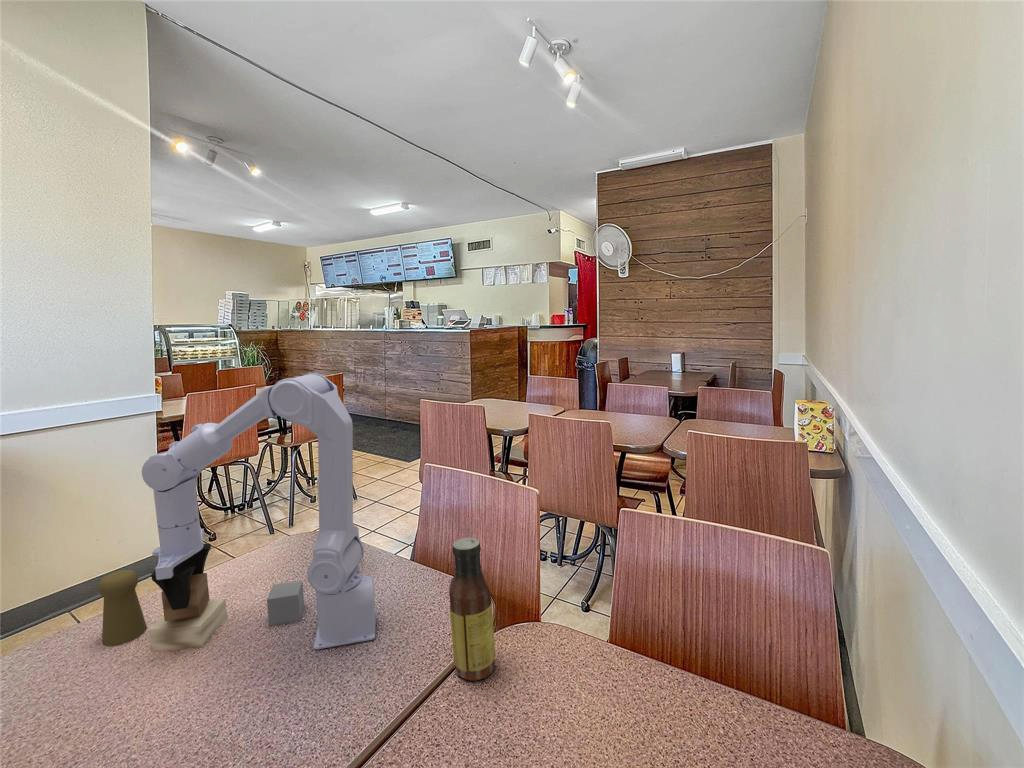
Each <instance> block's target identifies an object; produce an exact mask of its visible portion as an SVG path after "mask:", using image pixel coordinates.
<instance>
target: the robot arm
mask: <svg viewBox="0 0 1024 768" xmlns="http://www.w3.org/2000/svg"><path fill="white" fill-rule="evenodd" d="M278 416H279V417H280V418H282V419H284V420H287V421H289V422H292V423H294V424H297V425H299V426H301V427H304V428H306V429H307V430H308V431H310V432H311V433H312V434H314V435H315V436H316V437H317V456H318V458H317V461H318V462H317V464H318V465H317V466H318V470H317V471H318V472H317V473H318V475H317V476H318V477H319V499H318V534H317V536H316V540H315V543H314V545H313V549H312V560H311V562H310V564H309V566H308V567H307V573H306V576H307V581H308V583H309V585H310V586H311V588H312V589H313V590H315V597H316V611H317V623H318V626H317V630H316V634H315V639H314V643H313V650H316V651H317V650H322V649H326V648H333V647H338V646H339V647H340V646H345V645H350V644H355V643H362V642H367V641H372V640H374V639H375V638H376V621H377V620H378V608H377V607H376V598H375V597H376V596H375V595H376V594H375V581H374V579H375V578H374V576H369V575H368V576H367V575H361V571H360V567H359V564H360V562H361V561H362V559H363V557H364V555H365V547H364V544H363V542H362V540H361V538H360V533H359V531H360V530H359V527H358V526H356V525H355V524H354V498H353V497H354V494H353V493H354V479H353V478H354V477H353V476H354V471H353V470H354V465H353V463H354V457H353V456H354V455H353V454H354V451H353V450H354V448H353V447H354V446H353V445H354V443H353V442H354V440H353V437H354V436H353V433H354V432H353V430H354V429H353V427H354V425H353V419H352V417H351V415H350V414H349V411H348V410H347V408H346V406H345V405H344V403H343V401H342V399H341V397H340V396H339V392H338V386H337V385H336V384H334V383H333V382H332V381H331V380H330V379H328V378H327V377H326V376H324V375H323V374H321V373H318V372H317V373H316V372H309V373H306V374H304V375H300V376H296V377H292V378H291V377H290V378H289V377H288V378H283V379H280V380H278V381H277V382H276V383H275V384H274V385H272V386H268V387H267V388H264V389H263V390H261V391H260V392H258V393H257V394H255V395H254V396H253V397H251V398H250V399H249V400H248V401H246V402H245V403H244V404H243V405H241V406H240V407H239V408H238V409H236V410H235V411H234V412H232V413H230V414H229V415H228V416H227V417H225V418H224V419H223V420H221V422H219V423H216V422H215V423H214V422H206V423H204V424H203V423H198V424H196V425H194V426H193V427H191V428H190V432H191V433H189V434H188V435H187V436H185V437H184V438H182V439H181V440H179V441H177V440H176V441H174V442H171V443H170V444H168V448H169V449H168V450H167V451H165V452H163V453H156V454H154V455H151V456H149V457H148V459H147V460H146V461H145V462H144V463H143V465H142V467H141V475H142V476H141V477H142V479H143V482H144V483H145V485H147V486H148V487H149V488H150V489H152V490H153V499H154V507H155V514H156V515H155V516H156V524H157V533H158V543H159V546H158V547H156V548H154V550H152V552H151V554H152V556H153V557H158V563H157V565H156V567H155V568H154V571H153V572H152V573H151V580H152V581H153V582H154V583H155V584H156V585H157V586H158V587H159V588H160V589H161V590H162V591H163V592H164V594H165V596H166V598H167V600H168V602H169V604H170V606H171V608H172V610H177V609H184V608H187V606H188V603H189V594H190V581H191V577H192V575H195V574H202V573H205V572H204V570H205V565H206V560H207V558H208V555H209V553H210V551H211V548H212V544H211V543H204V541H205V539H206V537H205V529H204V528H201V521H200V516H199V515H200V513H199V512H200V511H199V505H198V504H199V503H198V496H197V486H198V477H199V475H200V474H201V473H202V471H203V470H204V469H206V468H207V467H208V466H210V465H211V464H212V463H214V462H215V461H217V460H218V459H220V458H221V457H223V456H224V455H226V454H227V453H229V452H230V450H231V449H232V447H233V443H234V442H233V440H234V439H235V438H237V437H238V436H239V435H241V434H243V433H244V432H246V431H247V430H249V429H251V428H252V427H254V426H255V425H257V424H258V423H260V422H261V421H263V420H264V419H266V418H276V417H278ZM162 591H161V592H162Z"/></svg>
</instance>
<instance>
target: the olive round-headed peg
mask: <svg viewBox="0 0 1024 768" xmlns="http://www.w3.org/2000/svg"><path fill="white" fill-rule="evenodd" d="M138 581H139V578H138V574H137V573H136V572H135V571H134V570H132V569H122V570H116V571H114V572H111V573H108V574H107V575H105V576H103V578H101V579H100V581H99V583H98V587H97V589H98V594H99V595H100V596H101V597H102V598H103V609H102V612H103V613H102V628H101V630H102V633H101V644H102V645H103V646H105V647H114V646H116V647H117V646H120V645H121V646H122V645H123V644H127V643H129V642H131V641H135V640H136V639H137V638H140V637H141V636H142V635H143V634H145V632H146V631H147V629H148V626H147V622H146V620H145V616H144V613H143V610H142V606H141V603H140V600H139V596H138V594H137V592H136V587H137V586H138V583H139V582H138Z"/></svg>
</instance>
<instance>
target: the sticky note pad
mask: <svg viewBox="0 0 1024 768" xmlns="http://www.w3.org/2000/svg"><path fill="white" fill-rule="evenodd" d="M227 619H228V612H227V601H226V598H217V599H216V598H214V599H209V601H208V603H207V604H206V606H205V608H204V609H203V611H202V613H201V614H200V616H196V617H190V618H183V619H177V620H171V621H165V619H164V615H162V616H161V617H160V618H159V619H158V620H157V621H156V622H155V623H154V624H153V625H151V627H149V629H148V637H149V645H150V646H149V647H150V648H149V649H150V651H151V652H158V651H159V652H160V651H173V650H185V649H200V648H203V647H205V645H206V644H207V643H208V642H209V641H210V640H211V639H212V637H213V636H214V635H215V633H216V632H217V631H218V630H219V629H218V628H221V626H222V625H223V624H222V623H223V622H224V623H225V621H226V620H227ZM221 624H222V625H221ZM217 629H218V630H217ZM216 630H217V631H216ZM213 634H214V635H213ZM212 635H213V636H212ZM207 641H208V642H207Z"/></svg>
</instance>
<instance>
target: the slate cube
mask: <svg viewBox="0 0 1024 768" xmlns="http://www.w3.org/2000/svg"><path fill="white" fill-rule="evenodd" d="M266 603H267V604H266V605H267V615H268V616H267V617H268V625H269V627H271V626H278V625H283V624H288V623H289V624H290V623H296V622H300V621H301V618H302V615H303V611H304V608H305V596H304V584H303V580H297V581H290V582H288V581H287V582H284V583H277V584H272V587H271V588H270V591H269V593H268V596H267V598H266Z"/></svg>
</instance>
